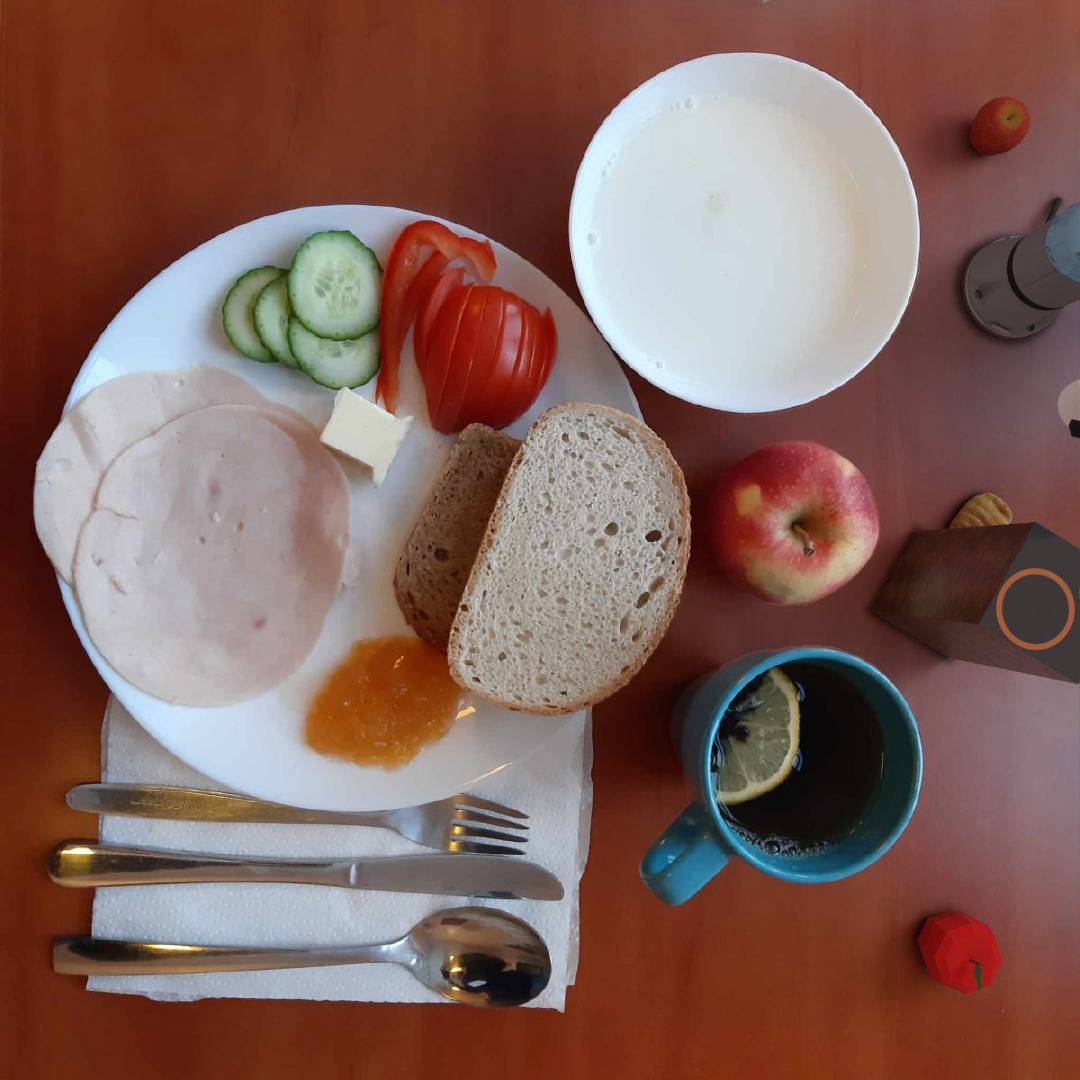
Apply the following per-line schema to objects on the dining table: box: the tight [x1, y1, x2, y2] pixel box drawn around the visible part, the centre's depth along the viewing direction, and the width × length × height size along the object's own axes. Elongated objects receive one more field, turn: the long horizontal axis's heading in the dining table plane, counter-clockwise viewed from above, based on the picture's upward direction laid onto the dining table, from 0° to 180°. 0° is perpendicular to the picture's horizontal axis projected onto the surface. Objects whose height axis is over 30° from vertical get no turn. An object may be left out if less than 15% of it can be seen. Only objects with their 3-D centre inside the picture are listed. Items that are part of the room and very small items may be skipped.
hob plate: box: [979, 521, 1080, 686], centre depth 101 cm, size 14×14×1 cm
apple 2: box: [969, 95, 1031, 156], centre depth 127 cm, size 8×8×8 cm
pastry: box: [948, 491, 1013, 529], centre depth 127 cm, size 9×7×4 cm
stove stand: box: [871, 521, 1077, 685], centre depth 115 cm, size 14×14×28 cm
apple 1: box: [917, 909, 1003, 995], centre depth 122 cm, size 11×11×10 cm
